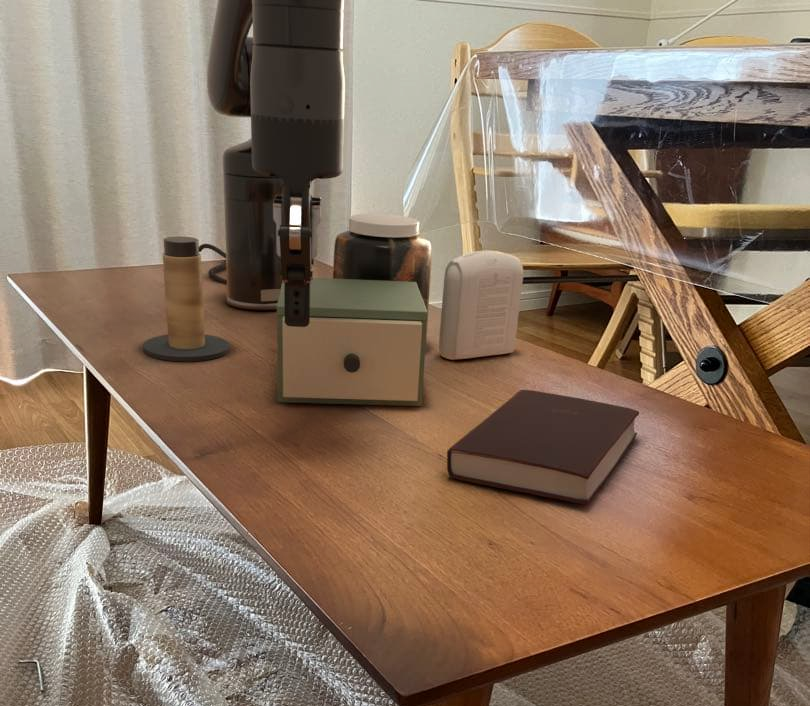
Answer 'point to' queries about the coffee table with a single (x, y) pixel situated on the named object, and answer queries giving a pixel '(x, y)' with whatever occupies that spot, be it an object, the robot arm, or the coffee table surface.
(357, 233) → the jar
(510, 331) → the cream rounded block
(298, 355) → the drawer
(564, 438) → the book
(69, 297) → the coffee table surface
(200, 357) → the coaster
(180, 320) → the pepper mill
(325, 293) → the cabinet
